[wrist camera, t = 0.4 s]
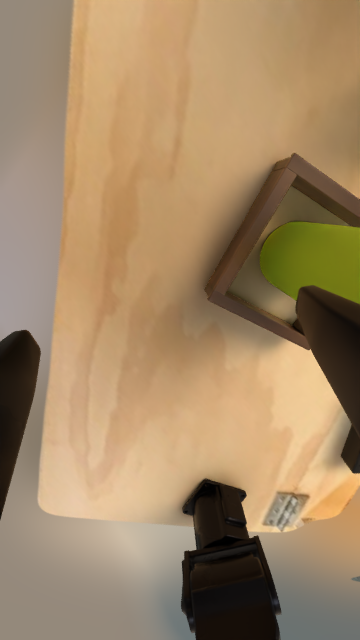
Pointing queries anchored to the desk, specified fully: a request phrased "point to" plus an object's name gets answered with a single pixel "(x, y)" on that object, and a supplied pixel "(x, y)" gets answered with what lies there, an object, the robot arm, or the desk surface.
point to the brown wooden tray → (255, 222)
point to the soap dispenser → (313, 258)
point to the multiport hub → (352, 451)
